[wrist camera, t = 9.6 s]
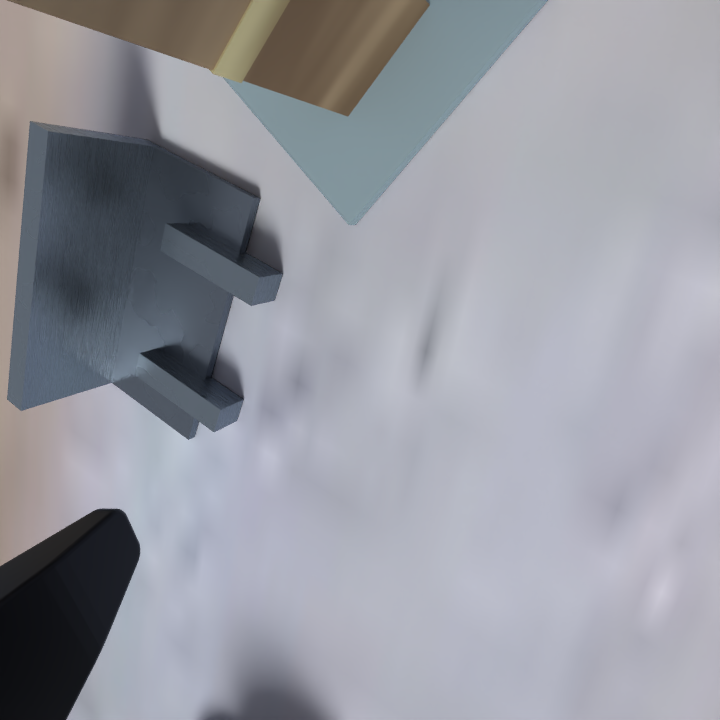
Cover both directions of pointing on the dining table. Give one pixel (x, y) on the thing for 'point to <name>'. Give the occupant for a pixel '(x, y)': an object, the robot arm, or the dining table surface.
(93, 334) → the bracket
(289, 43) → the tan rectangular block
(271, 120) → the mat
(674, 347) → the dining table surface
